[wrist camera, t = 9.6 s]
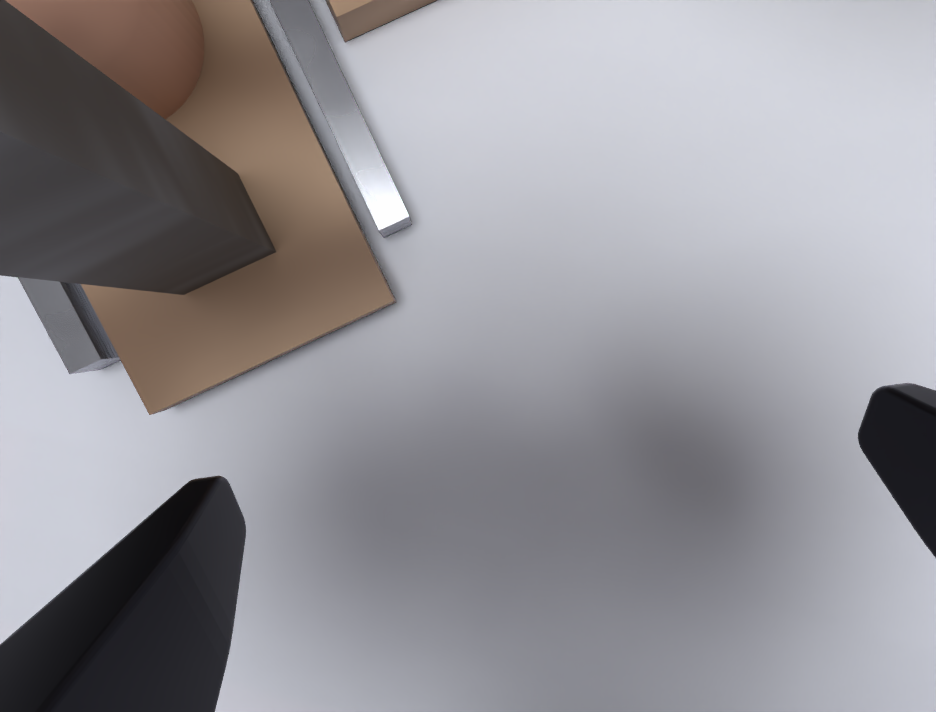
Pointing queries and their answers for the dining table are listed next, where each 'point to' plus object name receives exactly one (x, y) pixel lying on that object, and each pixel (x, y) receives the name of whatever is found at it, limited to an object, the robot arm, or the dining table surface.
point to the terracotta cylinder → (131, 43)
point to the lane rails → (68, 303)
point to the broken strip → (369, 14)
